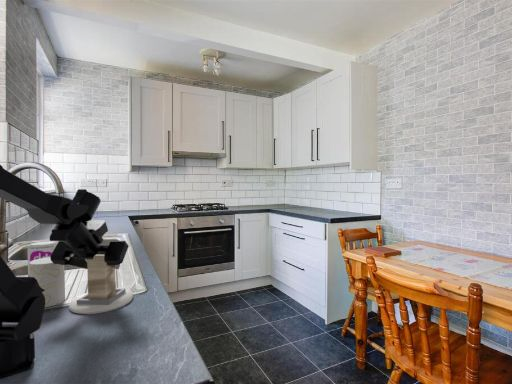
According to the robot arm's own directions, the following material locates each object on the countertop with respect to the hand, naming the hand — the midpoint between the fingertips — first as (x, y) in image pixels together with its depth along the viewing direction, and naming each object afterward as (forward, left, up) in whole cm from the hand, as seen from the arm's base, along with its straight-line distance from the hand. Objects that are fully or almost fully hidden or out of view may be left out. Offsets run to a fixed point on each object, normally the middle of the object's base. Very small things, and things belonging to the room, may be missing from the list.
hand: (103, 267), depth 84 cm
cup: (-12, +9, -10) cm, 19 cm away
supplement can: (-12, +22, -10) cm, 28 cm away
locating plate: (0, -1, -10) cm, 10 cm away
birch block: (-1, 0, -9) cm, 9 cm away
